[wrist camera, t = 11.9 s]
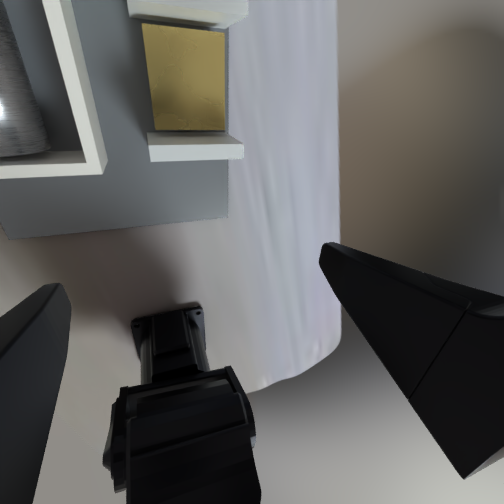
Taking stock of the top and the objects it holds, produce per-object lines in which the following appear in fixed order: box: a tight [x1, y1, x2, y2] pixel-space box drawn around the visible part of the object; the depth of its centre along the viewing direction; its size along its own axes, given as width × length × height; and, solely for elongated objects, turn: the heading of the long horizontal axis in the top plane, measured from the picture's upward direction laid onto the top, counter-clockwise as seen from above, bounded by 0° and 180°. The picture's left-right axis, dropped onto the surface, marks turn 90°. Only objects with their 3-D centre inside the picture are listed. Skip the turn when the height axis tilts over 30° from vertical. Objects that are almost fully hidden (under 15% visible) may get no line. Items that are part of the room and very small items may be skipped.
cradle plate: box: [142, 23, 225, 130], centre depth 15 cm, size 5×4×1 cm
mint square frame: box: [0, 0, 248, 240], centre depth 13 cm, size 19×14×5 cm
